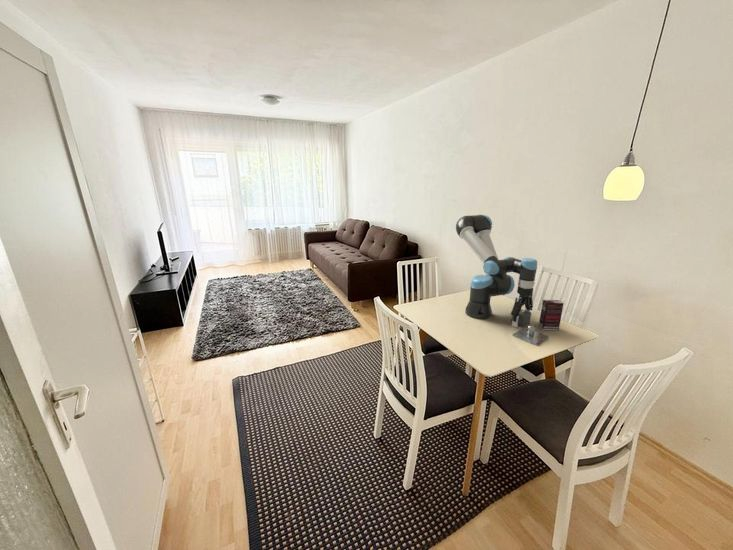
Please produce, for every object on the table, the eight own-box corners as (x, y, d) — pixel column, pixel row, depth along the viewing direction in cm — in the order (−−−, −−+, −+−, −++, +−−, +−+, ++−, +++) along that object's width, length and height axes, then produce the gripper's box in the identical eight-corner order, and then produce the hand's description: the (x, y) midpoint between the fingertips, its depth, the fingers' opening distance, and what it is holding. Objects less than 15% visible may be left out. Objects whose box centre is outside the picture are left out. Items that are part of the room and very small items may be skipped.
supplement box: (554, 326, 162) (559, 299, 157) (558, 330, 157) (564, 303, 153) (537, 326, 163) (542, 299, 158) (541, 330, 158) (546, 302, 154)
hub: (512, 335, 153) (513, 325, 151) (524, 329, 160) (525, 319, 158) (536, 345, 144) (538, 334, 142) (547, 338, 150) (549, 327, 148)
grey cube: (510, 322, 167) (512, 311, 165) (517, 319, 171) (518, 308, 169) (523, 327, 162) (524, 315, 159) (529, 323, 165) (531, 312, 163)
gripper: (521, 293, 150) (515, 331, 156) (543, 284, 163) (537, 319, 170) (507, 289, 156) (502, 326, 162) (529, 280, 169) (524, 315, 176)
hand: (520, 323), depth 166 cm, fingers open, 12 cm apart
